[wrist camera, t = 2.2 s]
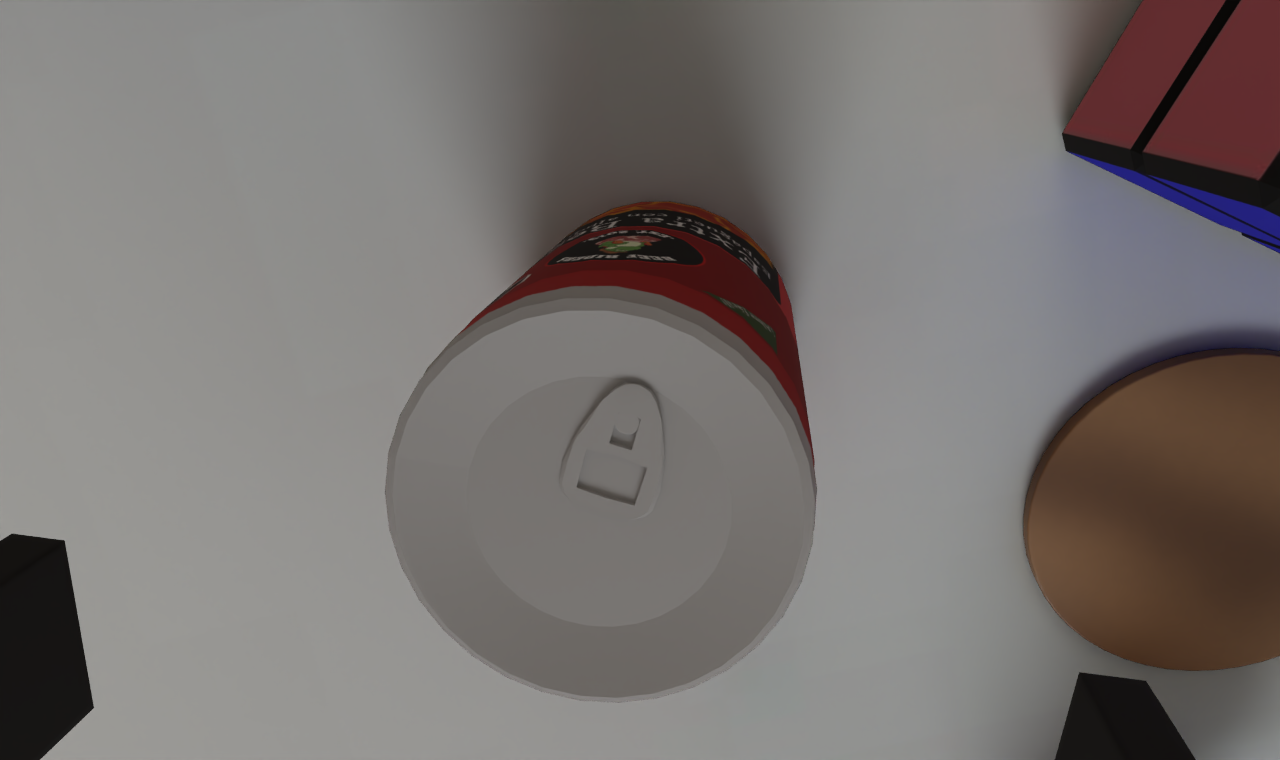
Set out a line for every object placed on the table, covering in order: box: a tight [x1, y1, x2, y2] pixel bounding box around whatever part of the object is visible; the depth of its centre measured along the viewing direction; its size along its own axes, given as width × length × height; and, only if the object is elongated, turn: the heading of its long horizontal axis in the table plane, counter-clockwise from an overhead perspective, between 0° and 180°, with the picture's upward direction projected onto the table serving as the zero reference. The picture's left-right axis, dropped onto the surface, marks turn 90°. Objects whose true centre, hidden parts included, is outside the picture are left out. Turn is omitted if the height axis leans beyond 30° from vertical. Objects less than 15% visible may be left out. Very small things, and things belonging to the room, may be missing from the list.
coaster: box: [1023, 348, 1280, 671], centre depth 25 cm, size 10×10×1 cm
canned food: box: [385, 202, 817, 703], centre depth 20 cm, size 8×8×11 cm
